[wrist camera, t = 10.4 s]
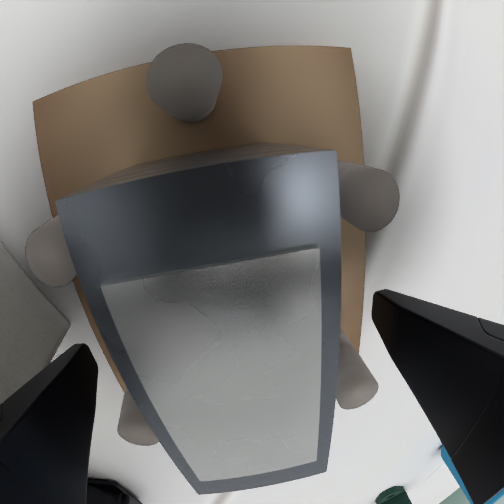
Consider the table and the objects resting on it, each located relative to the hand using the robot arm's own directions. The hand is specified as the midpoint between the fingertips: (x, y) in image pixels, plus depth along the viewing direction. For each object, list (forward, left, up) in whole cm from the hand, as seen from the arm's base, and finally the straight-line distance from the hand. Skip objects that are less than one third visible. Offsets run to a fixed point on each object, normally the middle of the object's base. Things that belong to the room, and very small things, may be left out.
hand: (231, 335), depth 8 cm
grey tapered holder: (0, 0, -3) cm, 3 cm away
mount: (+17, -42, -5) cm, 46 cm away
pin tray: (0, 0, -4) cm, 4 cm away
